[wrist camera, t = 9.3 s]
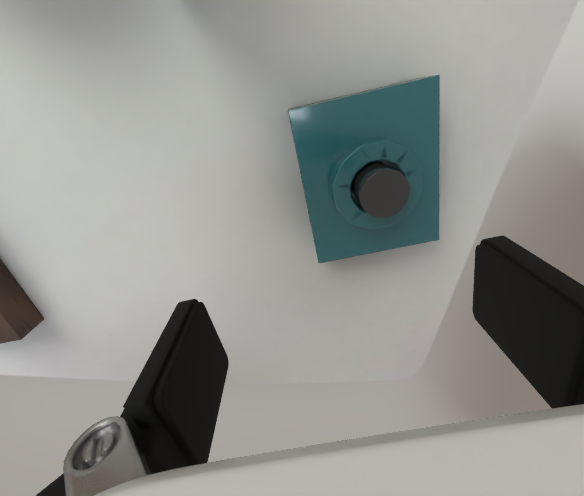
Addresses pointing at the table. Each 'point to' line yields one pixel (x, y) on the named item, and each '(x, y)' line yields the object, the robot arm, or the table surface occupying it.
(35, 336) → the table surface
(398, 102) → the teal push button box
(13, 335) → the panel
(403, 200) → the dark grey push button
